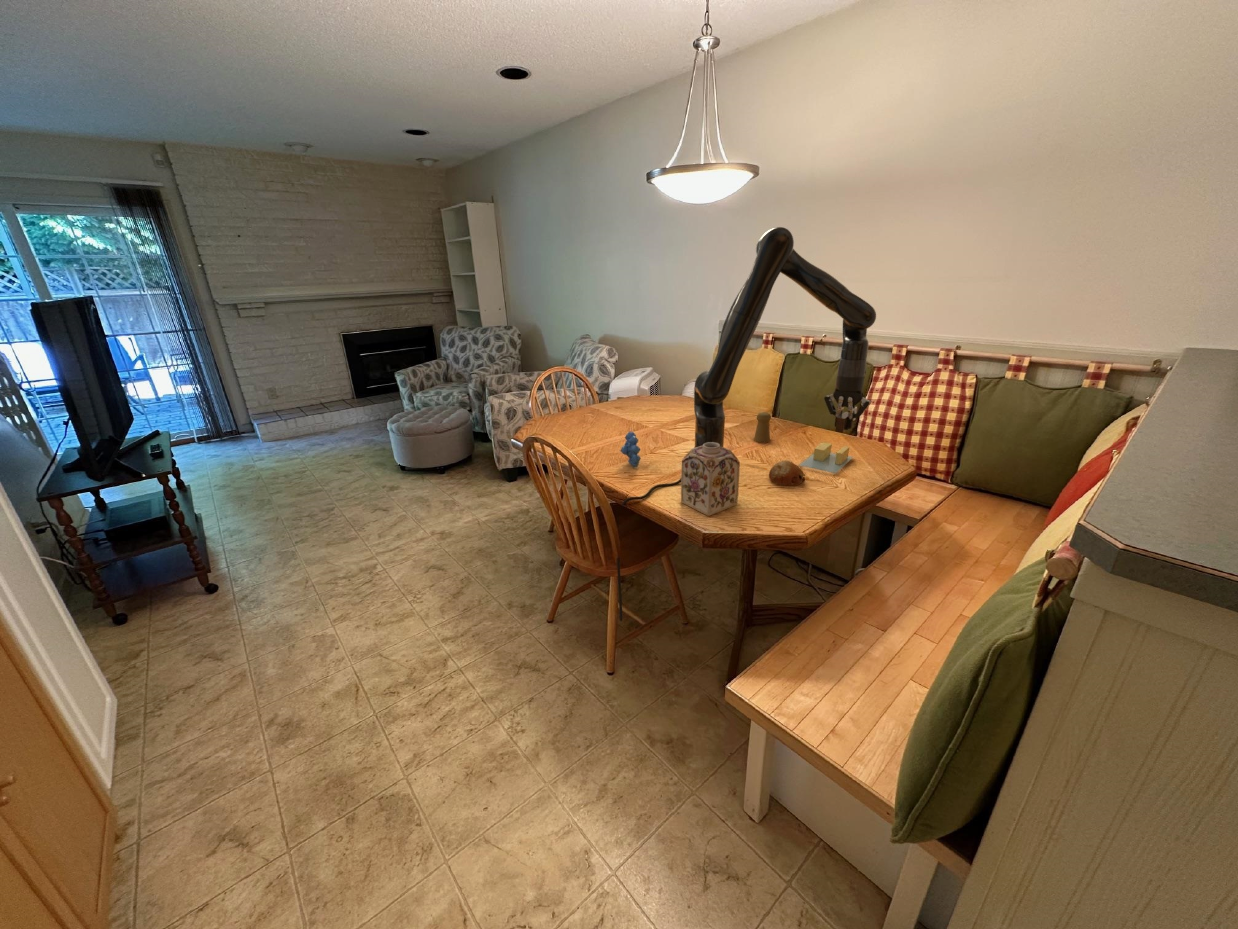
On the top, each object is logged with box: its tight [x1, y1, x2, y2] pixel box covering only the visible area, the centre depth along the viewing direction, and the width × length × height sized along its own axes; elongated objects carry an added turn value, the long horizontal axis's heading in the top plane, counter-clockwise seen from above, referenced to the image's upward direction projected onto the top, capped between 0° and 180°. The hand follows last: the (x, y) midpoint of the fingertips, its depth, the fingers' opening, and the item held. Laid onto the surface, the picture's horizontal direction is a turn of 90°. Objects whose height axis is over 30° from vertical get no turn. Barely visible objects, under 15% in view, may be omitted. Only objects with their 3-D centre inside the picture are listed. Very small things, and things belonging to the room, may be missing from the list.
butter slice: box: [835, 445, 850, 465], centre depth 160 cm, size 8×2×4 cm, turn 140°
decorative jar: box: [680, 442, 741, 517], centre depth 133 cm, size 12×12×18 cm
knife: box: [835, 406, 858, 434], centre depth 151 cm, size 17×2×4 cm, turn 140°
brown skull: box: [768, 460, 806, 487], centre depth 149 cm, size 10×10×8 cm
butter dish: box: [798, 452, 854, 474], centre depth 162 cm, size 18×12×1 cm, turn 140°
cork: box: [753, 411, 772, 444], centre depth 185 cm, size 6×6×11 cm
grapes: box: [620, 430, 642, 469], centre depth 164 cm, size 12×7×12 cm, turn 14°
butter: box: [813, 442, 833, 461], centre depth 164 cm, size 8×3×4 cm, turn 140°
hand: (843, 428), depth 149 cm, fingers closed on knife, 2 cm apart
